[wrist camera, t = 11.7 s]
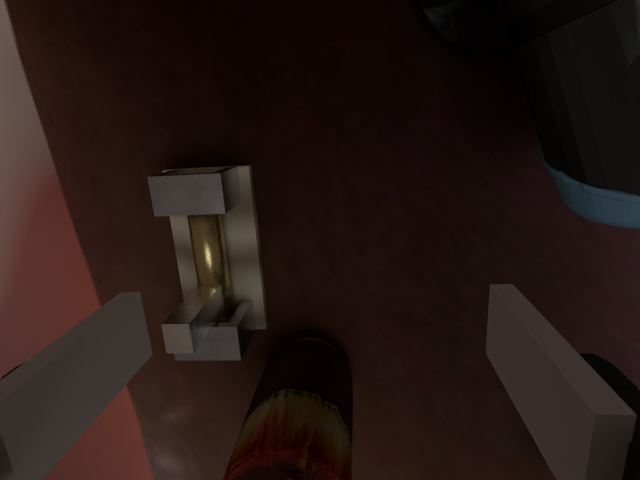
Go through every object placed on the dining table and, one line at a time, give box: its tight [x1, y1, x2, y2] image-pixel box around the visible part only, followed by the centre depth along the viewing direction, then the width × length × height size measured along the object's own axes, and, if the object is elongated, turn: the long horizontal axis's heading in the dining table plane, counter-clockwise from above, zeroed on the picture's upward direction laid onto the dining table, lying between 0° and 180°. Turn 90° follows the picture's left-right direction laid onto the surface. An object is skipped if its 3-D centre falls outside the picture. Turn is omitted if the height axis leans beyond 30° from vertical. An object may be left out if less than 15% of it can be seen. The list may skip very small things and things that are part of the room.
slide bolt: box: [161, 214, 234, 353], centre depth 42 cm, size 18×4×12 cm, turn 4°
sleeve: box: [148, 167, 241, 217], centre depth 43 cm, size 4×7×6 cm, turn 94°
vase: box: [223, 335, 353, 480], centre depth 40 cm, size 11×11×26 cm
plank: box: [162, 165, 268, 329], centre depth 48 cm, size 20×10×1 cm, turn 4°
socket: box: [174, 300, 256, 360], centre depth 47 cm, size 4×7×7 cm, turn 94°
